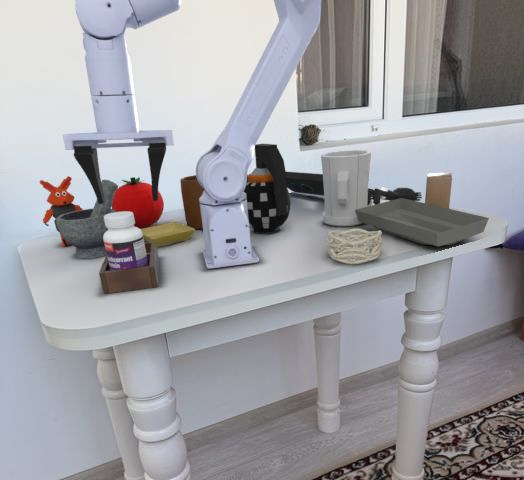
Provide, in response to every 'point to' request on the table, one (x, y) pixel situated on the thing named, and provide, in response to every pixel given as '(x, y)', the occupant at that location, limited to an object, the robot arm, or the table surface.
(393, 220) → the grey tray
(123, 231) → the pill bottle
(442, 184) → the wooden block
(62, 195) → the toy animal
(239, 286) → the table surface
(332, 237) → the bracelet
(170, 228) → the saucer
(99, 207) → the mortar and pestle
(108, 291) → the rack
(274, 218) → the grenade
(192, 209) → the mug
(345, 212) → the cup
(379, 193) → the figurine
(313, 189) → the smart home device
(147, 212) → the tomato
